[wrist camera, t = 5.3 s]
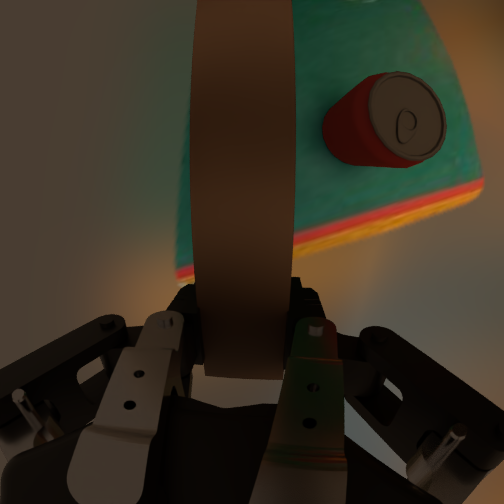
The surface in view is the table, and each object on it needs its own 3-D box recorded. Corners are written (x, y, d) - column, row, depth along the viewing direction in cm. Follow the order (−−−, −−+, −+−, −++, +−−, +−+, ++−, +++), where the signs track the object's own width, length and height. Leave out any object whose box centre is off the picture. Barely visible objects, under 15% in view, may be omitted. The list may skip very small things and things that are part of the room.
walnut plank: (222, -19, 8) (207, -65, 4) (282, -21, 8) (284, -68, 4) (220, 322, 14) (205, 375, 10) (280, 325, 13) (282, 379, 10)
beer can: (311, 148, 24) (344, 136, 13) (333, 90, 22) (377, 44, 11) (370, 176, 25) (436, 189, 13) (391, 120, 23) (461, 101, 11)
